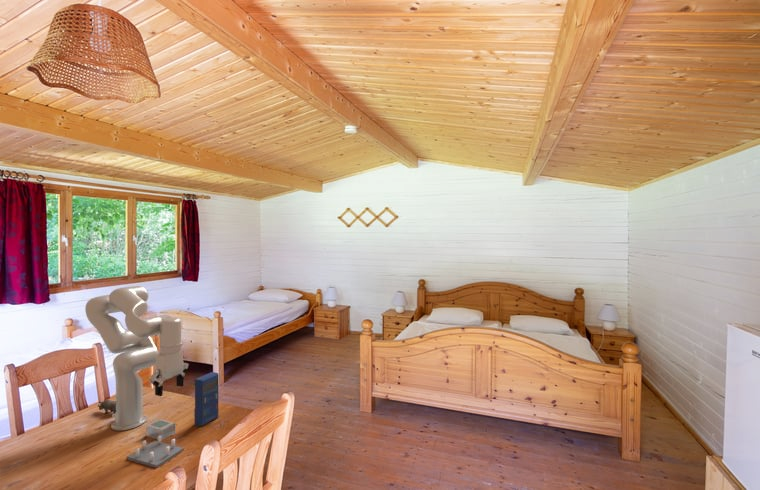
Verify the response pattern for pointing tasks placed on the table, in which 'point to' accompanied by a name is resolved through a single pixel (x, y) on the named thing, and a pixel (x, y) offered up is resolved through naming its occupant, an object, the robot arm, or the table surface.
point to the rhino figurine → (108, 406)
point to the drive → (160, 429)
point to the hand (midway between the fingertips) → (169, 390)
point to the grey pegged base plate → (155, 453)
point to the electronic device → (206, 399)
